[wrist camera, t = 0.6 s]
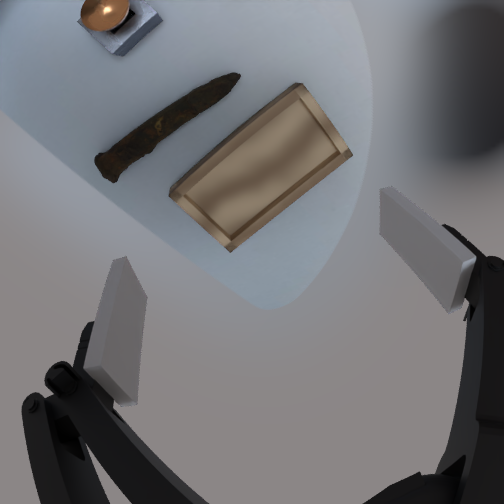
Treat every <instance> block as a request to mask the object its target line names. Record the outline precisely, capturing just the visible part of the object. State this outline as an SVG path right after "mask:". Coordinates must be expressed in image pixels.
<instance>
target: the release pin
mask: <svg viewBox="0 0 504 504" xmlns="http://www.w3.org/2000/svg"><path fill="white" fill-rule="evenodd" d="M129 7H130V2H129V0H86V1H85V2H84V4H83V6H82V9H81V20H82V22H83V24H84V25H85V26H86V27H87V28H89V29H91V30H94V31H98V32H103V31H108V30H111V29H113V28H115V29H120V28H121V27H122V26H123V25H124V24H125V23H127V22H128V21H129V20H130V19H131V18H132V14H131V13H130V12H129Z"/></svg>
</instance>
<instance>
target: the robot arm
mask: <svg viewBox="0 0 504 504" xmlns="http://www.w3.org/2000/svg"><path fill="white" fill-rule="evenodd" d="M380 235H381V236H382V237H383V238H384V239H385V240H386V241H387V242H388V243H389V245H390V246H391V247H392V248H393V249H394V250H395V251H396V252H397V253H398V254H399V256H400V257H401V258H402V259H403V260H404V261H405V262H406V263H407V264H408V266H409V267H410V268H411V269H412V270H413V271H414V273H415V274H416V275H417V276H418V277H419V279H420V280H421V281H422V282H423V283H424V284H425V286H426V287H427V288H428V289H429V290H430V292H431V293H432V294H433V295H434V296H435V298H436V299H437V300H438V301H439V303H440V304H441V305H442V306H443V308H444V309H445V310H446V311H447V313H448V314H450V313H452V312H454V311H456V310H458V309H460V308H461V307H462V305H463V302H464V298H466V299H467V300H468V301H469V306H468V309H467V311H466V314H465V317H464V320H463V321H466V318H467V328H466V340H465V351H464V360H463V367H462V375H461V381H460V388H459V394H458V399H457V405H456V409H455V414H454V419H453V424H452V428H451V432H450V436H449V440H448V444H447V447H446V451H445V453H444V454H443V456H442V458H441V460H440V462H439V464H438V467H437V470H436V473H435V474H428V475H421V473H420V472H418V473H416V474H414V475H412V476H409V477H407V478H405V479H403V480H401V481H399V482H396V483H394V484H392V485H390V486H388V487H387V488H385V489H384V490H383V491H381V492H380V493H378V494H377V495H375V496H374V497H372V498H371V499H370V500H368V501H366V502H365V503H363V504H504V260H502V259H501V258H499V257H495V256H488V257H486V256H485V255H484V254H483V253H482V252H481V251H480V250H478V249H477V248H476V247H475V246H474V245H473V244H472V243H471V242H469V241H467V239H466V238H465V237H464V236H462V235H461V234H460V233H459V232H458V231H457V230H456V229H454V228H452V227H450V226H448V225H446V224H444V225H440V224H439V223H438V222H437V221H436V220H434V219H433V218H432V217H431V216H429V215H428V214H427V213H426V212H424V211H423V210H422V209H421V208H420V207H418V206H417V205H416V204H415V203H413V202H412V201H411V200H409V199H408V198H407V197H405V196H404V195H403V194H402V193H400V192H399V191H398V190H396V189H395V188H394V187H392V186H391V187H387V188H382V189H380ZM146 304H147V295H146V294H145V292H144V290H143V288H142V286H141V284H140V282H139V280H138V279H137V277H136V275H135V273H134V271H133V269H132V267H131V265H130V263H129V261H128V259H127V257H122V258H119V259H116V260H113V262H112V265H111V268H110V271H109V274H108V277H107V280H106V284H105V287H104V290H103V293H102V297H101V301H100V304H99V307H98V311H97V315H96V318H95V321H93V322H89V323H87V325H86V327H85V328H84V330H83V331H82V334H81V337H80V343H79V345H78V350H77V353H76V356H75V360H74V364H73V367H72V366H71V365H70V364H69V363H67V362H65V361H60V362H57V363H55V364H54V365H53V366H52V367H51V368H50V369H49V370H48V372H47V373H46V376H45V380H44V381H45V385H46V387H47V388H48V389H50V390H51V391H52V392H53V393H54V394H53V395H51V396H49V397H47V398H44V397H43V396H42V395H41V394H40V393H36V392H35V393H32V394H30V395H29V396H27V397H26V399H25V400H24V402H23V405H22V419H23V426H24V433H25V438H26V445H27V450H28V455H29V460H30V464H31V469H32V473H33V477H34V481H35V485H36V489H37V492H38V496H39V499H40V503H41V504H110V502H109V500H108V498H107V496H106V494H105V491H104V489H103V487H102V485H101V482H100V480H99V478H98V475H97V473H96V470H95V468H94V465H93V463H92V460H91V457H90V455H89V452H88V449H87V446H86V444H87V445H88V447H89V448H90V450H91V451H92V453H93V454H94V456H95V457H96V458H97V460H98V461H99V463H100V464H101V466H102V467H103V468H104V470H105V471H106V472H107V474H108V475H109V476H110V478H111V479H112V480H113V481H114V483H115V484H116V485H117V486H118V487H119V489H120V490H121V491H122V493H123V494H124V495H125V496H126V497H127V498H128V500H129V501H130V502H131V503H132V504H209V503H207V502H206V501H205V500H204V499H203V498H202V497H200V496H199V495H198V494H197V493H196V492H195V491H193V490H192V489H191V488H190V487H189V486H188V485H187V484H186V483H184V482H183V481H182V480H181V479H180V478H179V477H178V476H177V475H176V474H175V473H173V471H172V470H170V469H169V468H168V467H167V466H166V465H165V464H164V463H163V462H162V461H161V460H160V459H159V458H158V457H157V456H156V455H155V454H154V453H153V452H152V450H150V448H149V447H148V446H147V445H146V444H145V443H144V442H143V441H142V440H141V439H140V438H139V437H138V436H137V434H136V433H135V432H134V431H133V430H132V429H131V428H130V427H129V425H128V424H127V423H126V422H125V421H124V420H123V418H122V417H121V416H120V415H119V414H118V412H117V411H116V410H115V409H114V408H113V403H114V400H115V401H116V402H117V403H118V404H119V405H120V406H121V407H123V406H132V405H137V401H138V385H139V371H140V358H141V348H142V338H143V328H144V320H145V311H146Z"/></svg>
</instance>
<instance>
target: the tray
mask: <svg viewBox="0 0 504 504" xmlns="http://www.w3.org/2000/svg"><path fill="white" fill-rule="evenodd" d="M352 156H353V154H352V152H351V151H350V149H349V148H348V146H347V145H346V143H345V142H344V140H343V139H342V137H341V136H340V134H339V133H338V131H337V130H336V128H335V127H334V126H333V124H332V123H331V121H330V120H329V118H328V117H327V116H326V114H325V113H324V111H323V110H322V109H321V107H320V106H319V104H318V103H317V102H316V100H315V99H314V98H313V96H312V95H311V94H310V92H309V91H308V90H307V88H306V87H305V86H304V85H303V83H295V84H293V85H292V86H291V87H289V88H288V89H287V90H285V91H284V92H283V93H281V94H280V95H279V96H277V97H276V98H275V99H274V100H272V101H271V102H270V103H268V104H267V105H266V106H265V107H263V108H262V109H261V110H259V111H258V112H257V113H256V114H254V115H253V116H252V117H251V118H250V119H248V120H247V121H246V122H245V123H243V124H242V125H241V126H240V127H239V128H237V129H236V130H235V131H234V132H233V133H231V134H230V135H229V136H228V137H227V138H225V139H224V140H223V141H222V142H221V143H220V144H219V145H217V146H216V147H215V148H214V149H213V150H212V151H210V152H209V153H208V154H207V155H206V156H205V157H204V158H203V159H201V160H200V161H199V162H198V163H197V164H196V165H195V166H194V167H193V168H192V169H190V170H189V171H188V172H187V173H186V174H185V175H184V176H183V177H182V178H181V179H180V180H179V181H177V182H176V183H175V184H174V185H173V186H172V187H171V188H170V192H169V197H170V198H171V199H172V200H173V201H174V202H176V203H177V204H178V205H179V206H180V207H181V208H182V209H183V210H184V211H185V212H186V213H187V214H189V215H190V216H191V217H192V218H193V219H194V220H195V221H196V222H197V223H198V224H199V225H201V226H202V227H203V228H204V229H205V230H206V231H207V232H208V233H209V234H210V235H211V236H213V237H214V238H215V239H216V240H217V241H218V242H219V243H220V244H221V245H222V246H224V247H225V248H226V249H227V250H228V251H229V252H230V253H231V252H232V251H233V250H234V249H236V248H237V247H238V246H239V245H241V244H242V243H243V242H244V241H246V240H247V239H248V238H249V237H251V236H252V235H253V234H254V233H256V232H257V231H258V230H259V229H261V228H262V227H263V226H264V225H266V224H267V223H268V222H269V221H271V220H272V219H273V218H274V217H276V216H277V215H278V214H279V213H281V212H282V211H283V210H284V209H286V208H287V207H288V206H289V205H291V204H292V203H293V202H294V201H296V200H297V199H298V198H300V197H301V196H302V195H303V194H305V193H306V192H307V191H308V190H310V189H311V188H312V187H313V186H315V185H316V184H317V183H318V182H320V181H321V180H322V179H324V178H325V177H326V176H327V175H329V174H330V173H331V172H332V171H334V170H335V169H336V168H338V167H339V166H340V165H341V164H343V163H344V162H345V161H346V160H348V159H349V158H350V157H352Z"/></svg>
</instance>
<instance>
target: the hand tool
mask: <svg viewBox="0 0 504 504" xmlns="http://www.w3.org/2000/svg"><path fill="white" fill-rule="evenodd" d="M240 77H241V75H240V74H237V73H230V74H227V75H223V76H221V77H218V78H215V79H213V80H211V81H210V82H209V83H207V84H205V85H203V86H200V87H198V88H196V89H194V90H192V91H191V92H190V93H189V94H187V95H185V96H184V97H182V98H180V99H179V100H177V101H176V102H174V103H172V104H171V105H169V106H168V107H166V108H165V109H163V110H162V111H160V112H159V113H157V114H156V115H154V116H153V117H152V118H150V119H149V120H147V121H146V122H144V123H143V124H142V125H140V126H139V127H138V128H136V129H135V130H133V131H132V132H130V133H129V134H128V135H127V136H125V137H124V138H123V139H122V140H120V141H119V142H118V143H116V144H115V145H114V146H113V147H112V148H111V149H110V150H108V151H107V152H105V153H99V154H98V155H96V157H95V160H94V161H95V165H96V166H97V168H98V169H99V171H100V172H101V174H102V176H103V177H104V178H106V179H108V180H109V181H111V182H112V183H115V182H117V181H118V178H119V175H120V174H121V173H122V172H123V171H124V170H125V169H127V168H128V166H129V165H131V164H132V163H133V162H135V161H136V160H138V159H140V158H141V157H143V156H144V155H145V154H149V153H151V152H152V151H153V149H154V148H155V146H156V145H157V144H158V143H159V142H160V141H161V140H163V139H164V138H166V137H167V136H168V135H170V134H171V133H173V132H174V131H175V130H176V129H178V128H179V127H180V126H182V125H183V124H185V123H186V122H188V121H189V120H191V119H192V118H194V117H196V116H197V115H198V114H199V113H201V112H203V111H205V110H206V109H208V108H210V107H211V106H213V105H214V104H216V103H217V102H218V101H220V100H221V99H222V98H223V97H224V96H226V95H227V94H228V93H229V92H230V91H231V89H232V88H233V87H234V86H235V85H236V83H237V81H238V80H239V79H240Z"/></svg>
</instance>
